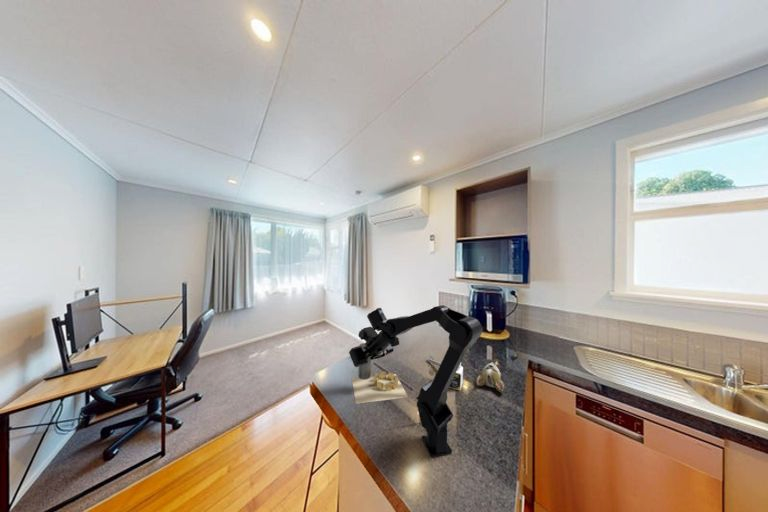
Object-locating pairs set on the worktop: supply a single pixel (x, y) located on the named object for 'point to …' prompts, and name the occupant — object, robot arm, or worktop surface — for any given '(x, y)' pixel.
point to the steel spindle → (364, 367)
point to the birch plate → (375, 390)
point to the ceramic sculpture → (491, 377)
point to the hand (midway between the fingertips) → (362, 361)
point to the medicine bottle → (457, 379)
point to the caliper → (434, 362)
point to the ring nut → (387, 385)
